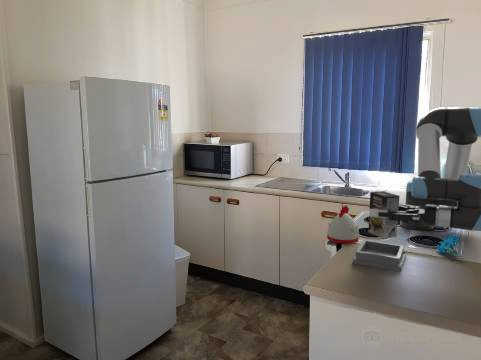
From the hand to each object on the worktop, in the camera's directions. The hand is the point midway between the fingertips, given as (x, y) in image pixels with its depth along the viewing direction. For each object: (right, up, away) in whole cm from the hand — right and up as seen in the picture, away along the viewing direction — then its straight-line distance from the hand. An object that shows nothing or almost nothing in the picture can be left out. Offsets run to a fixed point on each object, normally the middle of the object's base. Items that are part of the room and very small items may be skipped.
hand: (371, 209), depth 149 cm
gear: (+33, -19, +8) cm, 39 cm away
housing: (+4, -20, +2) cm, 20 cm away
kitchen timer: (-4, -16, +27) cm, 32 cm away
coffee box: (+4, -10, 0) cm, 11 cm away
